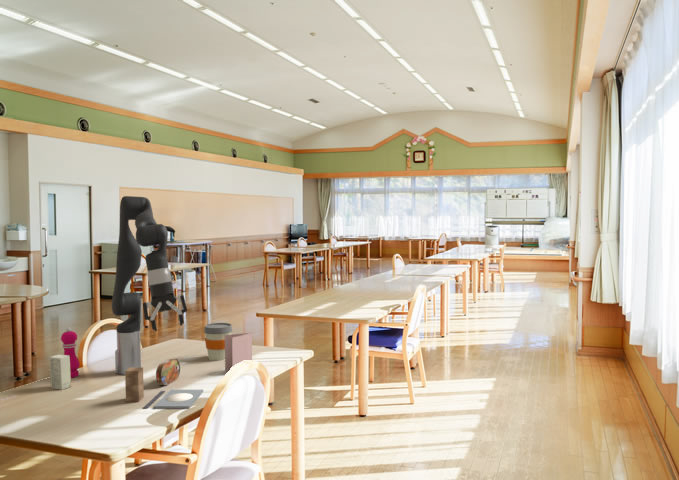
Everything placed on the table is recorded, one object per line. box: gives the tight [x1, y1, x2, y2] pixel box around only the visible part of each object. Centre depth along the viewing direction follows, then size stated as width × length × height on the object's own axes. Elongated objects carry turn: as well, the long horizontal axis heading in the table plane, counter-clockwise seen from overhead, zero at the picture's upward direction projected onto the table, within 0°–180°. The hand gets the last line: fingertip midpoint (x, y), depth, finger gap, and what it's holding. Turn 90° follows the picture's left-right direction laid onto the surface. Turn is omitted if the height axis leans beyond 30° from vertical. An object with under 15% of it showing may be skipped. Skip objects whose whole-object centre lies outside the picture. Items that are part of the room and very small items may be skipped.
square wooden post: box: [124, 366, 145, 403], centre depth 198 cm, size 5×5×11 cm
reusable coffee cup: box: [203, 322, 233, 361], centre depth 255 cm, size 13×13×15 cm
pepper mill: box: [60, 327, 80, 379], centre depth 227 cm, size 7×7×20 cm
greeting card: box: [224, 332, 253, 371], centre depth 234 cm, size 11×7×15 cm, turn 110°
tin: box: [155, 358, 181, 386], centre depth 219 cm, size 15×3×8 cm, turn 168°
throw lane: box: [142, 389, 204, 410], centre depth 198 cm, size 16×18×1 cm
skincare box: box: [49, 353, 72, 390], centre depth 212 cm, size 6×4×12 cm
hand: (168, 328), depth 193 cm, fingers open, 8 cm apart
